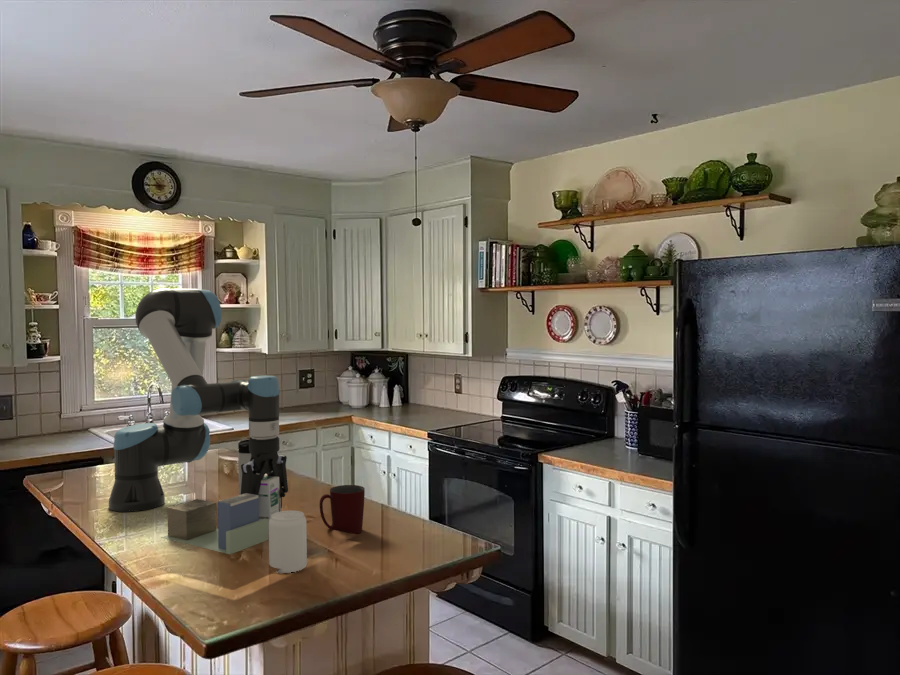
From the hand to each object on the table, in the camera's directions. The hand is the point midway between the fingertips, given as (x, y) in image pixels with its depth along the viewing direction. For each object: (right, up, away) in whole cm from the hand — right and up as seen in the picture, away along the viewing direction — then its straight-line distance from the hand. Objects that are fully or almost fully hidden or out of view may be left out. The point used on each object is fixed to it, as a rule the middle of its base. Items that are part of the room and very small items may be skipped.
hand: (265, 525), depth 180 cm
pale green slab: (-10, -2, -8) cm, 13 cm away
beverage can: (+11, -3, -24) cm, 27 cm away
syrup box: (0, -2, 0) cm, 2 cm away
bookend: (-17, -1, -4) cm, 18 cm away
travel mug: (-10, -2, +24) cm, 26 cm away
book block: (-3, -1, -12) cm, 13 cm away
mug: (+19, -2, +1) cm, 20 cm away
